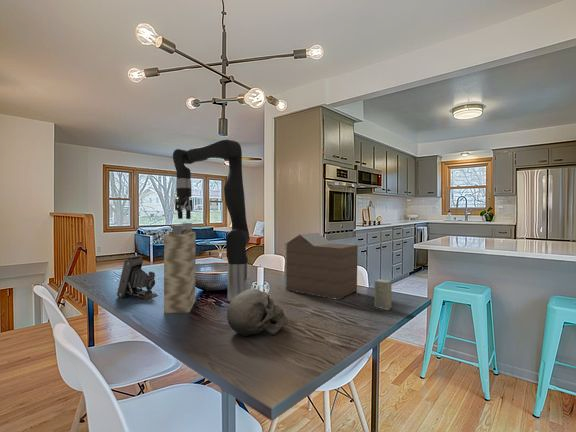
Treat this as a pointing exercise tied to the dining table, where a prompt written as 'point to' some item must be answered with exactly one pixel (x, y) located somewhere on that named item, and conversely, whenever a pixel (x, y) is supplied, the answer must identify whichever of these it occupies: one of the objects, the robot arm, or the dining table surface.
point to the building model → (320, 266)
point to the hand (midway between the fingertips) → (184, 218)
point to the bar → (181, 228)
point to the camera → (135, 279)
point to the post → (179, 271)
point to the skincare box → (383, 293)
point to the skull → (255, 313)
